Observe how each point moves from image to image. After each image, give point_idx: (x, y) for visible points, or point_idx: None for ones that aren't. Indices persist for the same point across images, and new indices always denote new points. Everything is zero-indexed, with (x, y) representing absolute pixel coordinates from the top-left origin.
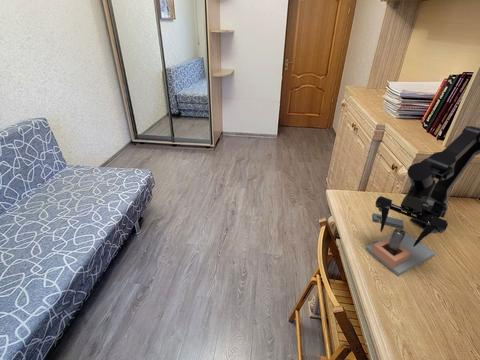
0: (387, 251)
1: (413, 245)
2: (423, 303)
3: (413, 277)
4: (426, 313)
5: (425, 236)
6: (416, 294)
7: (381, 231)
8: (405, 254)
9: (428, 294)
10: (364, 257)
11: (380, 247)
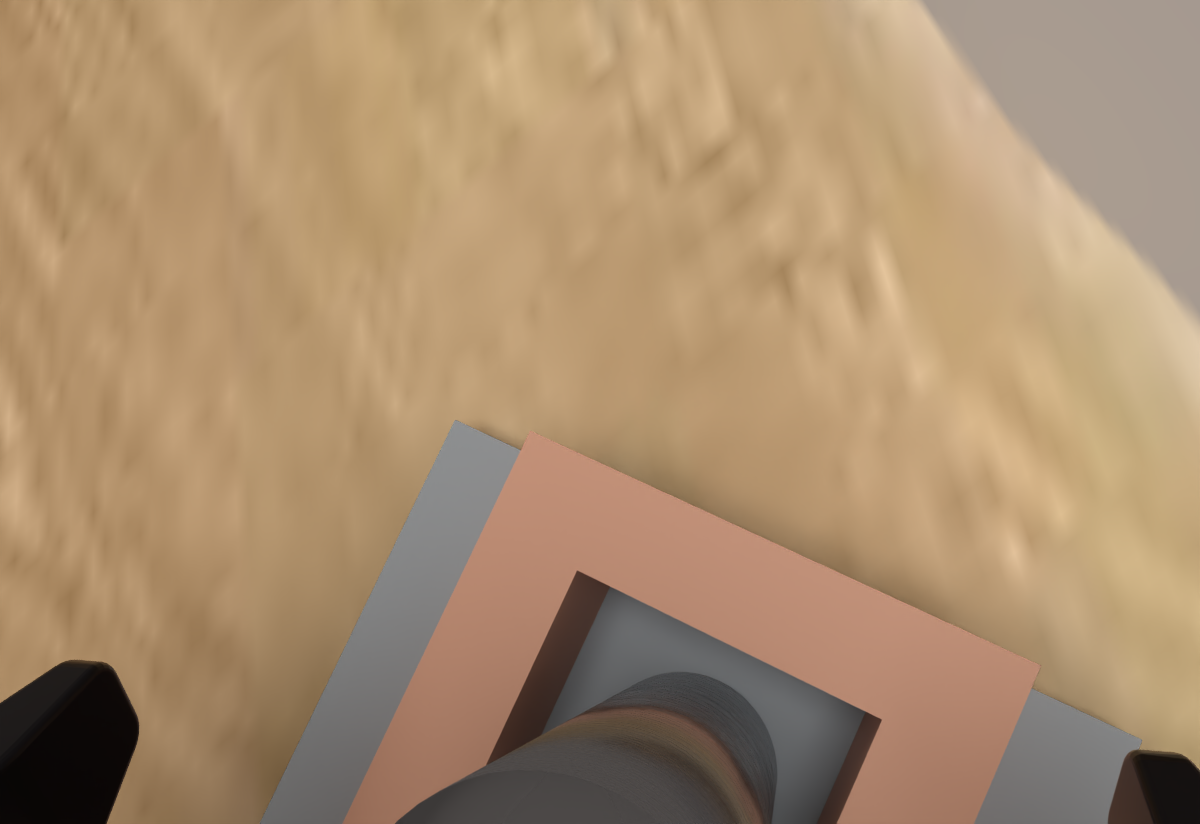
0: (721, 635)
1: (115, 698)
2: (140, 180)
3: (273, 570)
4: (109, 57)
5: None
6: (219, 265)
7: (1129, 752)
8: (385, 800)
9: (89, 376)
10: (1045, 485)
11: (885, 664)
